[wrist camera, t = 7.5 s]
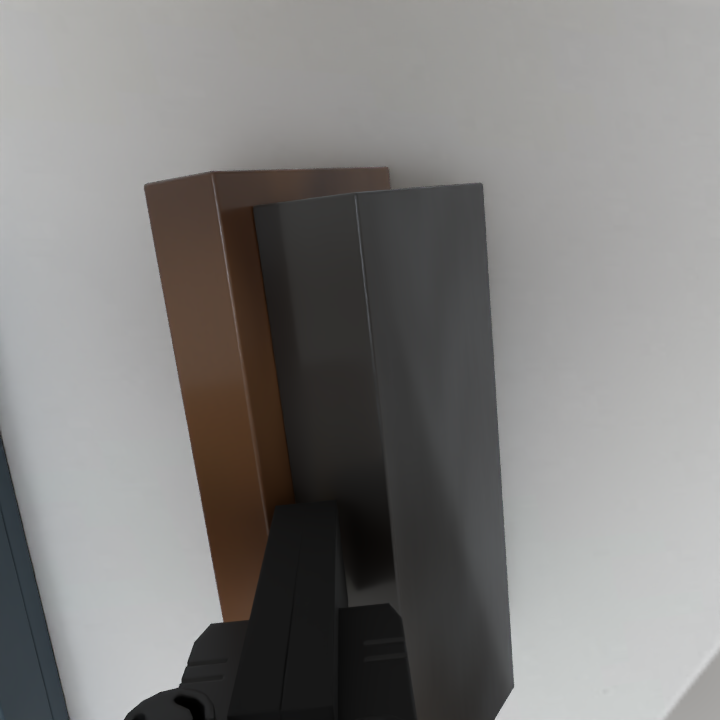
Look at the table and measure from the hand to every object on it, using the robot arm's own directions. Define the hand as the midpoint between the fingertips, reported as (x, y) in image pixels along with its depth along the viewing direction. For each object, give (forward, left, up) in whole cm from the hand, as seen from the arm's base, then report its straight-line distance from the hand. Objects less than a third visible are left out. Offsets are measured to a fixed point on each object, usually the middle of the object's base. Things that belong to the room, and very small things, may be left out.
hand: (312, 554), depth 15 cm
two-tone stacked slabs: (0, +3, -6) cm, 7 cm away
